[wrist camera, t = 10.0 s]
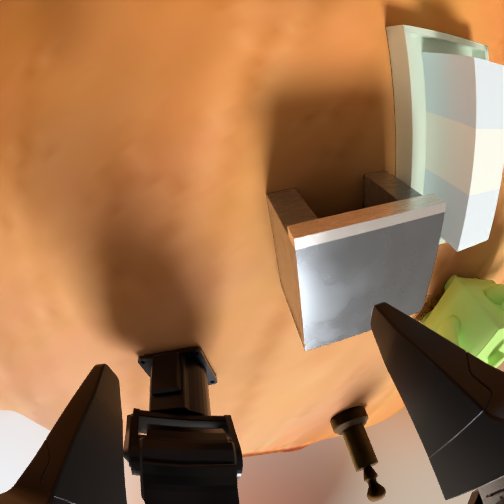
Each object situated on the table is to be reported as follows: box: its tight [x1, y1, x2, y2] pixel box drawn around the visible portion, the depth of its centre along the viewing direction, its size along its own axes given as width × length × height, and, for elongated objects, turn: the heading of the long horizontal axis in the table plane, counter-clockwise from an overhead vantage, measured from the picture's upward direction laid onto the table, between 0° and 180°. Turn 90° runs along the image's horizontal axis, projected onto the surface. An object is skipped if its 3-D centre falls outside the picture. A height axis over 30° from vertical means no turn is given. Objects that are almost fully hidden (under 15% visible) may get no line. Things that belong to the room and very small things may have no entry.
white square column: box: [422, 52, 504, 252], centre depth 15 cm, size 14×4×5 cm, turn 11°
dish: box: [386, 25, 489, 244], centre depth 17 cm, size 17×9×2 cm, turn 10°
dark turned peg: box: [331, 406, 386, 502], centre depth 36 cm, size 7×6×18 cm
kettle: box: [421, 275, 504, 368], centre depth 25 cm, size 15×14×11 cm
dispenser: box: [266, 171, 446, 351], centre depth 18 cm, size 9×9×7 cm
